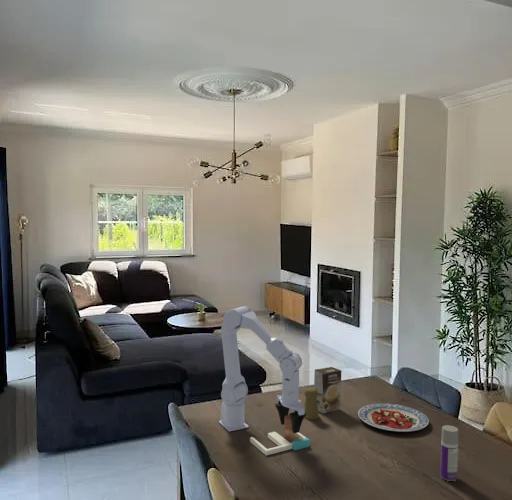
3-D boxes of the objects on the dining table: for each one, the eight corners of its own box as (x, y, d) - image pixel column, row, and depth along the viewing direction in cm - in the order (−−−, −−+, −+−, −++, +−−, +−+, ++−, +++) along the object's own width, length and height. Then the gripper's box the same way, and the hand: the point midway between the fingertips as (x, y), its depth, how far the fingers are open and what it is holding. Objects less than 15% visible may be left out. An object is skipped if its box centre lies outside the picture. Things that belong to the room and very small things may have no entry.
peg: (281, 438, 169) (282, 416, 168) (291, 436, 170) (291, 413, 170) (288, 443, 165) (288, 420, 165) (297, 440, 167) (298, 418, 166)
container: (437, 473, 146) (438, 425, 145) (452, 473, 146) (453, 424, 145) (444, 482, 141) (446, 432, 140) (460, 481, 141) (461, 431, 141)
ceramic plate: (352, 429, 177) (352, 421, 177) (364, 404, 201) (364, 397, 201) (426, 442, 167) (427, 433, 167) (430, 414, 191) (430, 407, 191)
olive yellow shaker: (318, 420, 184) (318, 391, 184) (302, 418, 185) (302, 390, 185) (319, 414, 190) (319, 386, 189) (303, 412, 191) (304, 385, 191)
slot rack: (249, 441, 166) (250, 434, 166) (291, 431, 174) (291, 424, 174) (268, 457, 155) (268, 449, 155) (311, 445, 163) (312, 438, 163)
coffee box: (323, 414, 190) (323, 373, 189) (313, 408, 196) (313, 369, 195) (341, 409, 195) (341, 370, 194) (330, 404, 200) (331, 366, 199)
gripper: (312, 394, 162) (311, 433, 163) (289, 381, 175) (288, 418, 176) (294, 397, 159) (294, 438, 160) (272, 384, 172) (271, 422, 172)
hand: (289, 428), depth 168 cm, fingers open, 7 cm apart
